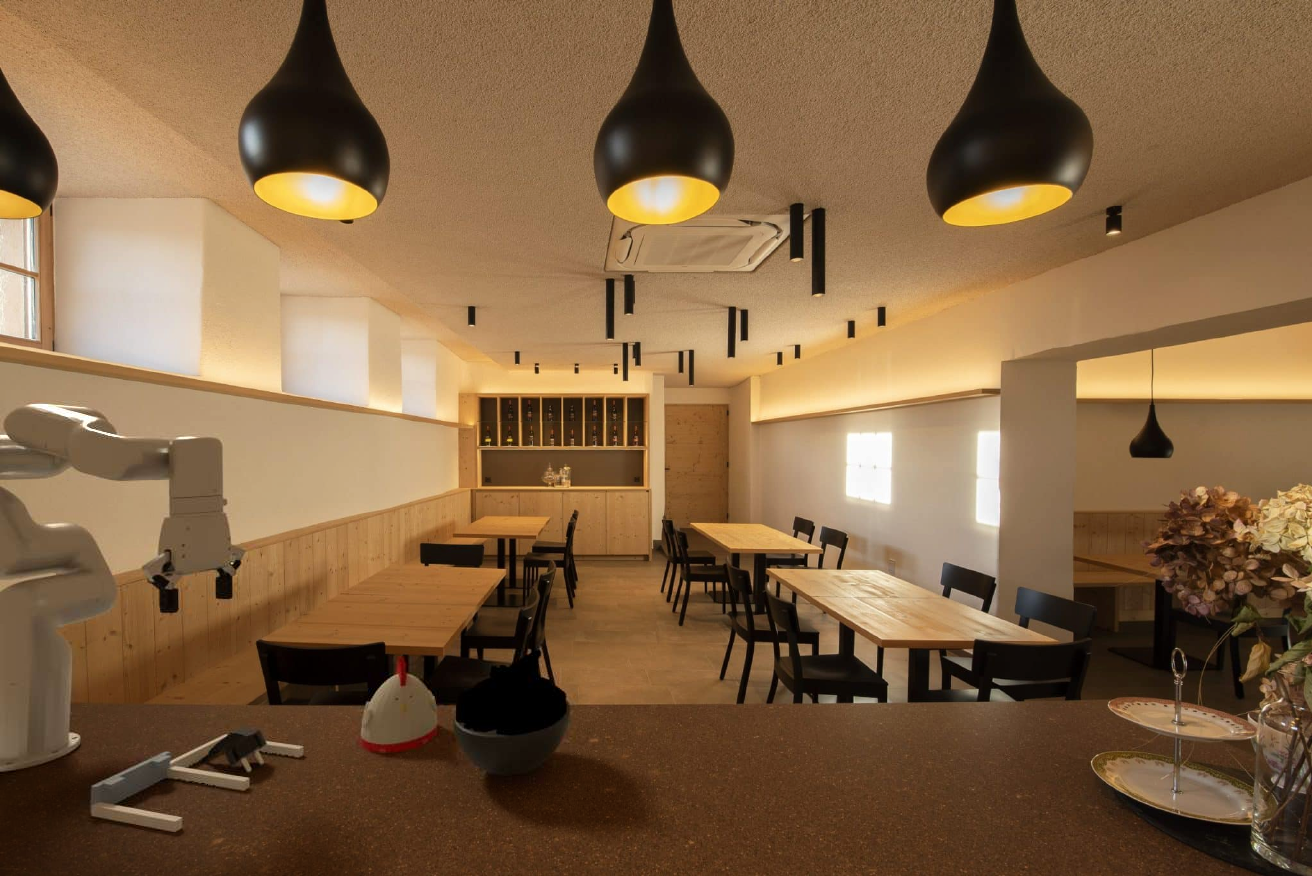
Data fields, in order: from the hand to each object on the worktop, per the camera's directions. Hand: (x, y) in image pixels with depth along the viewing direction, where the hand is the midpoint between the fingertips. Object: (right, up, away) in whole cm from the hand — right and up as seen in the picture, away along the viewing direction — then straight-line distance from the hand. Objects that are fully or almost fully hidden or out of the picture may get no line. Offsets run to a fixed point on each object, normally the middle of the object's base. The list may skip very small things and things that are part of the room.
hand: (197, 605), depth 104 cm
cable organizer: (+5, -28, -5) cm, 29 cm away
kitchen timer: (+30, -29, +13) cm, 44 cm away
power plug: (+5, -29, +1) cm, 29 cm away
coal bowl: (+55, -29, +1) cm, 62 cm away
